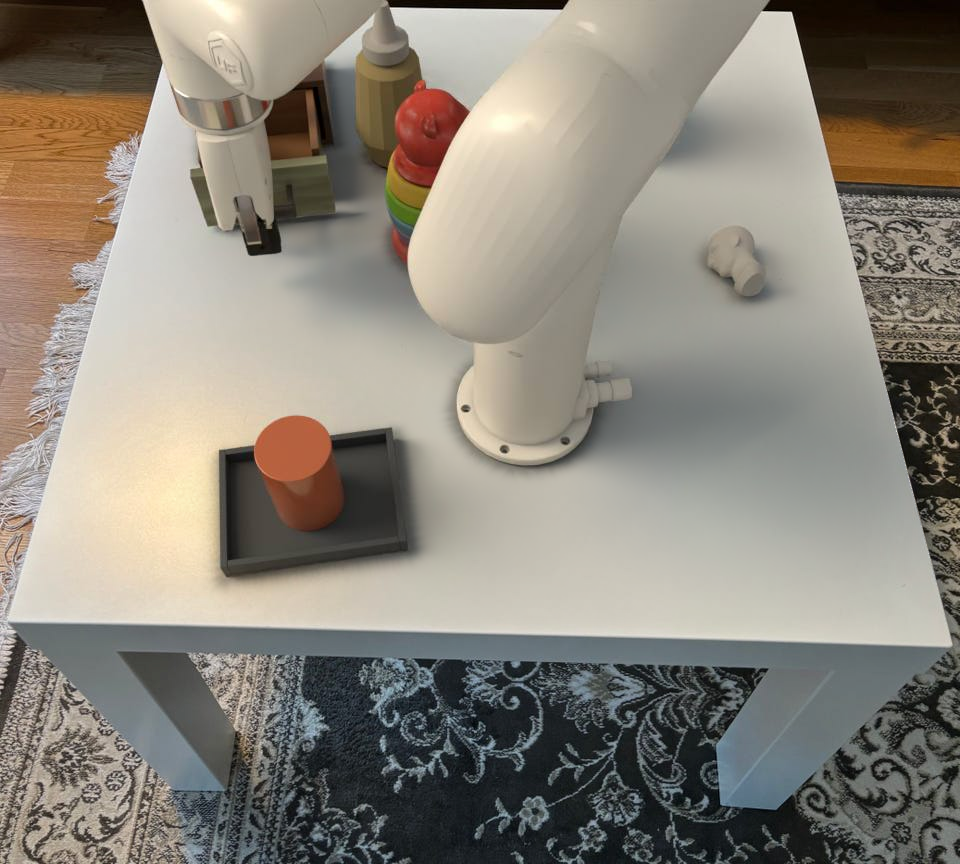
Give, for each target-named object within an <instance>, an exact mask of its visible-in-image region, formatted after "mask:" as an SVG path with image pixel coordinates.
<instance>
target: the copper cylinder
mask: <svg viewBox="0 0 960 864" xmlns="http://www.w3.org/2000/svg"><path fill="white" fill-rule="evenodd" d="M330 435H331V434H330V433H329V431H328V430H327V428H326V427H325V426H324V425H323V424H322V423H321V422H320V421H318V420H316V419H314V418H312V417H311V416H310V417H309V416H306V415H298V414H297V415H287V416H284V417H280V418H278V419H275V420H273V421H272V422H271V423H269V424H267V426H266V427H264V428H263V429H262V430H261V431H260V433H259V434H258V436H257V438H256V441H255V443H254V445H255V447H254V458H255V461H256V464H257V466H258V468H259V471H260V473H261V476H262V478H263V480H264V483H265V485H266V488H267V490H268V492H269V495H270V497H271V499H272V502H273V504H274V507H275V509H276V511H277V514H278V516H279V517H280V519H281V520H282V521H283V522H284V523H285V524H286V525H288V526H289V527H291V528H293V529H296V530H301V531H313V530H318V529H321V528H323V527H326V526H327V525H329V524H330V523H332V522H333V521H334V520H335V519H336V518H337V517H338V516H339V514H340V513H341V511H342V509H343V506H344V502H345V492H344V488H343V484H342V480H341V476H340V473H339V469H338V465H337V461H336V457H335V453H334V449H333V446H332V442H331V438H330Z"/></svg>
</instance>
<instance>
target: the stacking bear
mask: <svg viewBox="0 0 960 864" xmlns="http://www.w3.org/2000/svg"><path fill="white" fill-rule="evenodd" d="M470 112H471V110H469V109H468V108H467V107H466V105H464V104H462V103H461V102H460V101H459V100H458V99H456V97H455V96H453V94H451V93H450V92H448V91H446V90H444V89H440V88H434V87H433V88H431V87H430V88H427V82H426V80H425V79H422V80H420V81H419V82H418V83H417V84H416V85H415V88H414V94H412V95H410V96H409V97H408V98H407V99H406V100H405V101H404V102H403V103H402V104H401V106H400V108H399V109H398V111H397V114H396V117H395V130H396V135H397V139H398V142H399V144H398V146H397V147H396V149H395V151H394V152H393V154H392V156H391V159H390V162H389V166H388V168H387V174H386V177H385V187H384V192H385V193H384V195H385V204H386V208H387V211H388V212H387V213H388V215H389V219H390V220H391V222H392V224H393V225H392V226H393V228H392V233H391V243H392V248H393V250H394V252H395V253H396V255H397V256H398V257H399V258H400V260H401V261H403V262H404V263H405V264H407V265H408V248H409V243H410V239H411V236H412V233H413V230H414V228H415V225H416V223H417V220H418V218H419V216H420V213H421V211H422V209H423V206H424V204H425V202H426V199H427V197H428V195H429V192H430V190H431V188H432V185H433V183H434V181H435V178H436V176H437V174H438V171H439V169H440V167H441V164H442V162H443V160H444V157H445V155H446V153H447V151H448V148H449V146H450V144H451V142H452V140H453V139H454V137H455V135H456V133H457V132H458V130H459V128H460V127H461V125H462V124H463V122H464V121H465V119H466V118H467V116H468V115H469V113H470Z"/></svg>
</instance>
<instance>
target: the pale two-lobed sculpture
mask: <svg viewBox="0 0 960 864" xmlns="http://www.w3.org/2000/svg"><path fill="white" fill-rule="evenodd" d="M755 247H756V243H755V238H754V236H753V234H752V233H751V232H750V231H749V230H748V229H747V228H746V227H743V226H740V225H730V226H726V227H723V228H722V229H719V230H718V231H717V232H716V233H715V234H713V236H712V237H711V238H710V240H709V242H708V245H707V249H706V254H707V267H708V268H709V269H711V270H714V271H715V272H717V273H718V274H719V276H720V277H722V278H732V280H733V281H734V287H733V288H734V291H735V293H737V294H738V295H741V296H744V297H754V296H756V295H758V294H759V293H760V292H761V291H762V289H763V287H764V284H765V280H766V274H767V270H766V267H765V265H764V264H762V263H761V262H758V261H757V259H756V258H755V257H754V256H755V255H754V253H755Z"/></svg>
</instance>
